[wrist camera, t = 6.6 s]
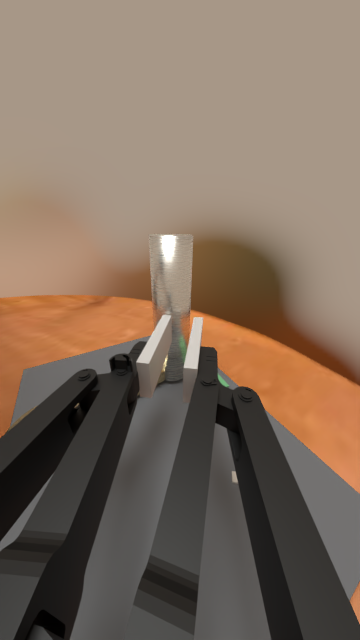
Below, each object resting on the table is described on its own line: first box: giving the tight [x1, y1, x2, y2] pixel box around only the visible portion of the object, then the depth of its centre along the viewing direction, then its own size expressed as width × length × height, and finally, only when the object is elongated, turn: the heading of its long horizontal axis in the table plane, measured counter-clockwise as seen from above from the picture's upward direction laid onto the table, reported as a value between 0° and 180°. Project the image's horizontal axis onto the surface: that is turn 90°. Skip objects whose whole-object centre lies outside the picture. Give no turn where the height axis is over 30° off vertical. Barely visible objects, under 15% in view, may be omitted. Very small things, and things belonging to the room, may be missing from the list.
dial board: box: [0, 336, 360, 640], centre depth 17 cm, size 26×20×1 cm
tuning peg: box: [6, 234, 193, 433], centre depth 15 cm, size 18×5×14 cm, turn 130°
